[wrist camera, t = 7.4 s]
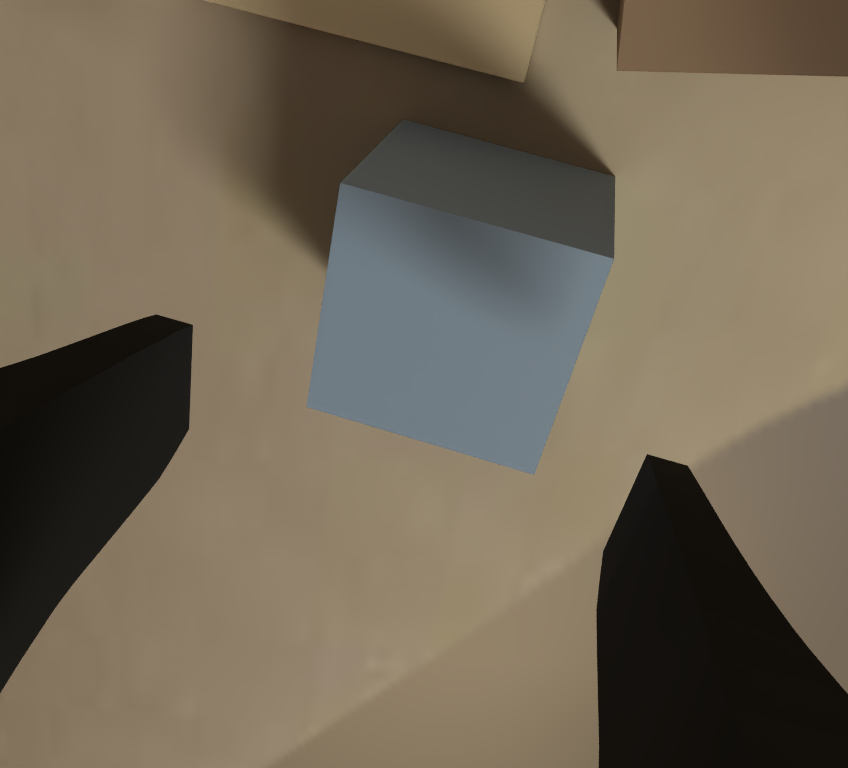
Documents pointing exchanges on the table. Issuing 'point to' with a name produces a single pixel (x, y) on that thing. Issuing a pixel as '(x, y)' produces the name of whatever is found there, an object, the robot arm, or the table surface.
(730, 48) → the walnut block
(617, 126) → the table surface
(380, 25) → the letter
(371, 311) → the slate cube
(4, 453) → the robot arm
